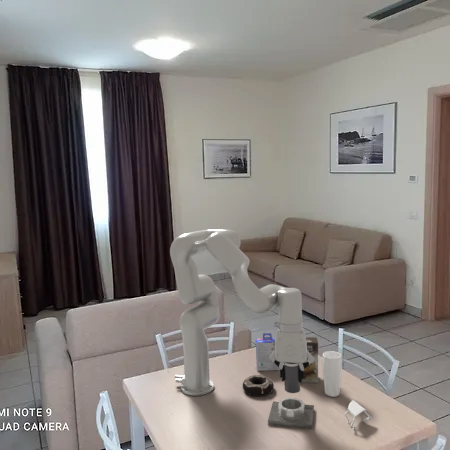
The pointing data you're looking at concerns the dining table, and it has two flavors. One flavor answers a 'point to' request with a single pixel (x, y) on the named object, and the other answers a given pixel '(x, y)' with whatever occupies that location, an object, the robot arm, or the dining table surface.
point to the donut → (258, 385)
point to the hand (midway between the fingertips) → (292, 379)
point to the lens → (291, 377)
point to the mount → (291, 414)
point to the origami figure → (356, 412)
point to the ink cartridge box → (265, 353)
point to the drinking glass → (332, 372)
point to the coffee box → (312, 369)
